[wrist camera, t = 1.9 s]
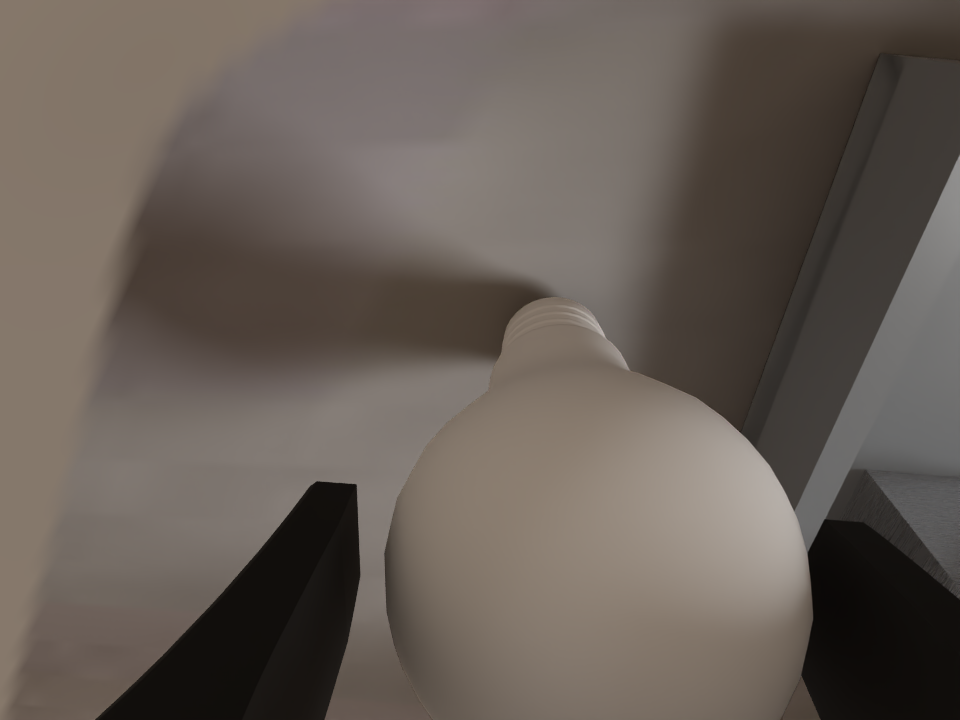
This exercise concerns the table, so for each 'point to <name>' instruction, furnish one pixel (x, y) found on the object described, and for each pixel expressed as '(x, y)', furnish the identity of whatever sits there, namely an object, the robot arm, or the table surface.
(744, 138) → the table surface
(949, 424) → the tote
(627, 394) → the lightbulb
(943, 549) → the steel block
